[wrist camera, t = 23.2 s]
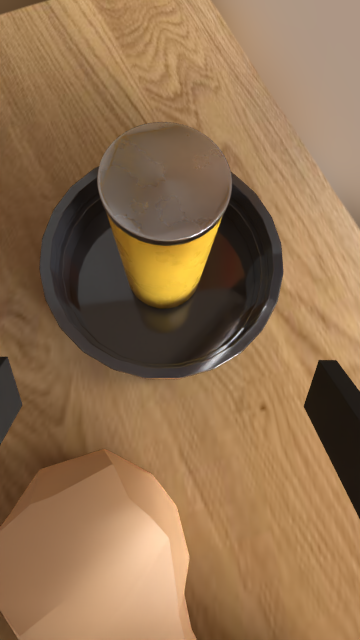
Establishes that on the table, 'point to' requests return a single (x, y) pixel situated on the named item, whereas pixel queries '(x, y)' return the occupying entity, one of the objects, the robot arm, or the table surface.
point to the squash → (94, 555)
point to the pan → (149, 322)
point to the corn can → (164, 207)
